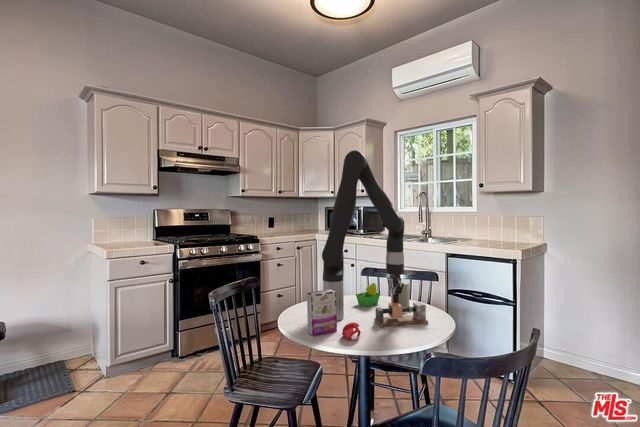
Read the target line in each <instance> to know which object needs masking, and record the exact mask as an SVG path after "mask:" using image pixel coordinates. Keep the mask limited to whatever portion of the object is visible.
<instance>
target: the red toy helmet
mask: <svg viewBox="0 0 640 427" xmlns="http://www.w3.org/2000/svg"><path fill="white" fill-rule="evenodd" d="M359 327H360V324H359V323H357V322H348V323H346V324H345V325H344V326H343V328H342V332H341V333H342V334H341V335H342V336H344V337H345V338H346V339H347V340H349V341H352V337H353V336H354V335H355V334H356V333H357V334H356V337H357V338H360V335H361V333H362V332H361V330H360V328H359Z"/></svg>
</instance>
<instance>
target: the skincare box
mask: <svg viewBox="0 0 640 427" xmlns="http://www.w3.org/2000/svg"><path fill="white" fill-rule="evenodd" d="M401 283H403V284H404V286H403V289H402V292H401V294H399V304H400V305H401V306H402V307H407V306H410V282H404V281H401Z"/></svg>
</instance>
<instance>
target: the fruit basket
mask: <svg viewBox="0 0 640 427" xmlns="http://www.w3.org/2000/svg"><path fill="white" fill-rule="evenodd" d="M380 296H381V293H379V292H378V289H377V284H376V283H374V282H372V283H371V284H369V285H368V286H366V288H365V292H361V293H356V294H355V297H356V300H357V303H358V305H359V306H361V307H369V306H373V305H377V304H378V303H379V300H380Z"/></svg>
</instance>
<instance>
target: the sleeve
mask: <svg viewBox="0 0 640 427" xmlns="http://www.w3.org/2000/svg"><path fill="white" fill-rule="evenodd" d="M390 293H391V292H390ZM387 306H388V308H392V313H388V317H392V318H393V319H396V318H402V316H403V312H402V306H401V305H400V304H399V303H393V293H391V294H390V302H388V304H387Z"/></svg>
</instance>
